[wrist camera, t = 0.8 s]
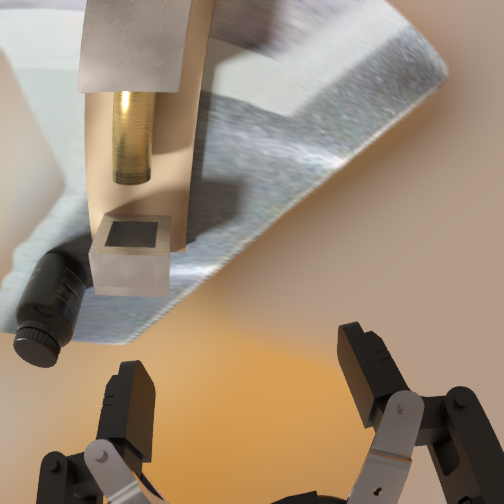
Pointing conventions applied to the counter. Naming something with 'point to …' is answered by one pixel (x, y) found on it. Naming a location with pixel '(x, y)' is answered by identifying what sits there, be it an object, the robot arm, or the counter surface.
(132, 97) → the tube
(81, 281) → the supplement bottle
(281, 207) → the counter surface
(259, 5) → the counter surface
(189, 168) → the base board
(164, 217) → the sleeve socket
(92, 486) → the robot arm
